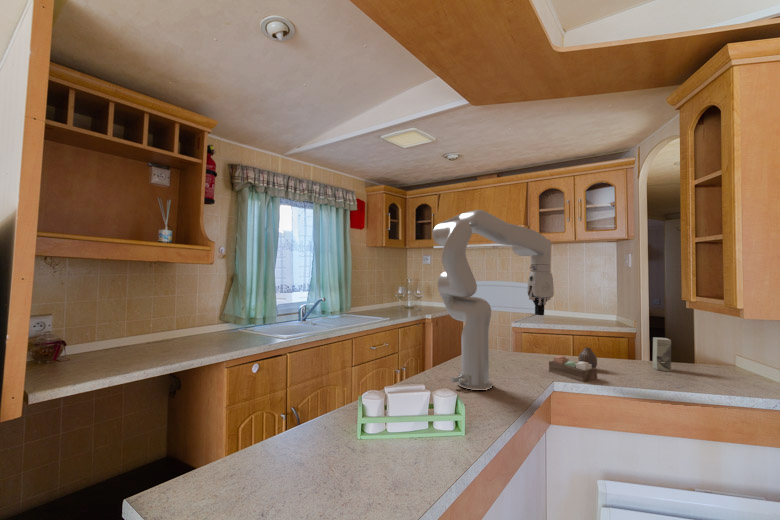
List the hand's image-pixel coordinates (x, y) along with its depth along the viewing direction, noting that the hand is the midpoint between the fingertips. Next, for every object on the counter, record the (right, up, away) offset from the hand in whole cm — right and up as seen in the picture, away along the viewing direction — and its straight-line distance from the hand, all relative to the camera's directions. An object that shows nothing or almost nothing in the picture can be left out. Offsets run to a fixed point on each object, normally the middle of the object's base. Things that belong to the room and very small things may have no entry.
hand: (539, 314), depth 144 cm
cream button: (+14, -20, -8) cm, 25 cm away
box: (+52, -24, +4) cm, 58 cm away
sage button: (+11, -21, -3) cm, 24 cm away
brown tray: (+11, -23, -3) cm, 26 cm away
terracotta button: (+9, -20, +1) cm, 22 cm away
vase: (+22, -24, +5) cm, 33 cm away
